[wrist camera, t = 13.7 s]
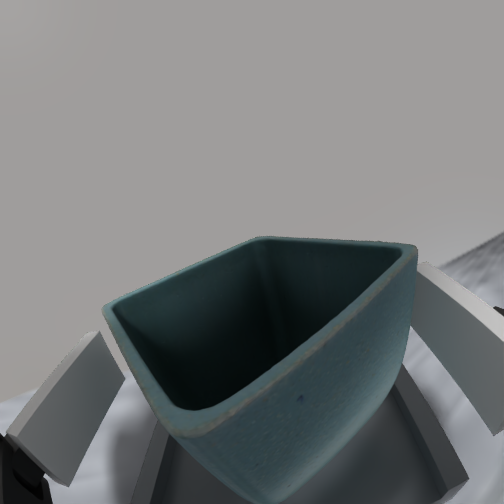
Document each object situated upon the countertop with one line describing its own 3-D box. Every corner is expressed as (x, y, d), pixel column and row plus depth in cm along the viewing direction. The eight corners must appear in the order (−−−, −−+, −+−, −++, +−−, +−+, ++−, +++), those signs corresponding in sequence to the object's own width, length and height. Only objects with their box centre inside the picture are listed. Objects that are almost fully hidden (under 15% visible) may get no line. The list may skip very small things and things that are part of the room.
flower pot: (175, 439, 13) (97, 302, 10) (289, 364, 18) (258, 233, 15) (277, 548, 6) (174, 443, 3) (408, 415, 11) (422, 243, 8)
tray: (383, 357, 17) (380, 258, 15) (456, 495, 6) (527, 394, 4) (184, 396, 18) (142, 310, 16) (146, 540, 7) (40, 467, 5)
